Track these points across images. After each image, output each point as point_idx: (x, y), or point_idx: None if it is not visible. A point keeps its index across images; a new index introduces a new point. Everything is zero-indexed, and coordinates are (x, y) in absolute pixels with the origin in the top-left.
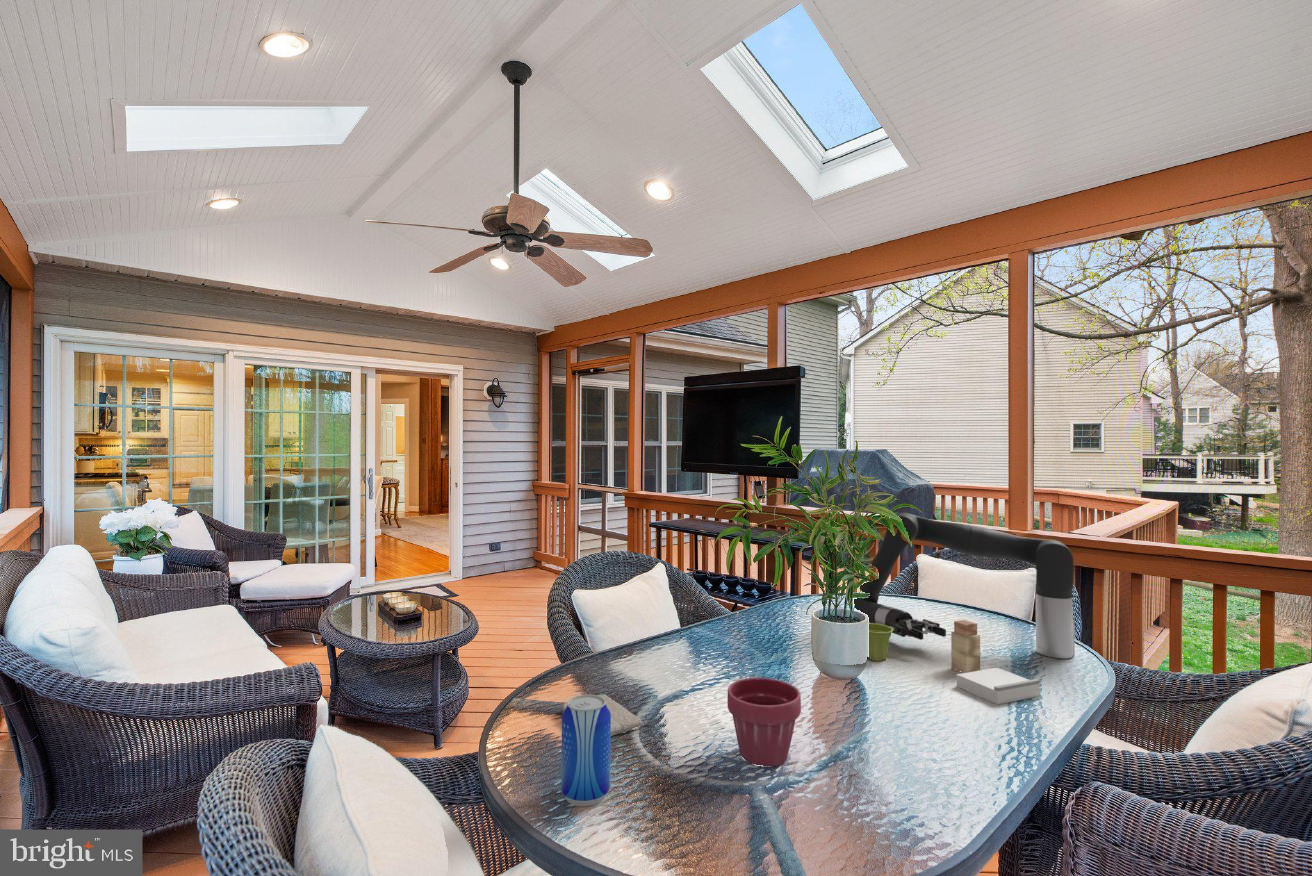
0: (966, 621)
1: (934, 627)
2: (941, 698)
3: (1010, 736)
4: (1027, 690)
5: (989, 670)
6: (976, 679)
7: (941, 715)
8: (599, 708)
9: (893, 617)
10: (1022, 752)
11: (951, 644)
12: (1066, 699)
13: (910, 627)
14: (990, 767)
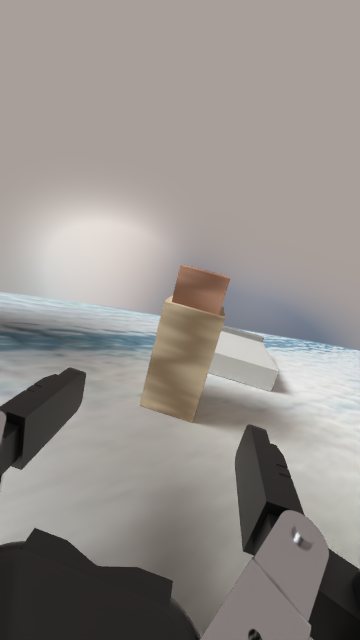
0: (194, 268)
1: (27, 425)
2: (329, 395)
3: (298, 349)
4: None
5: None
6: (258, 354)
7: (354, 385)
8: None
9: None
10: (306, 345)
11: (212, 357)
12: None
13: (297, 524)
14: (346, 354)
